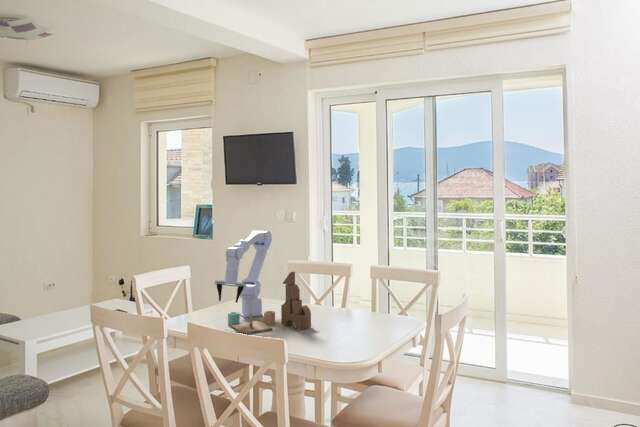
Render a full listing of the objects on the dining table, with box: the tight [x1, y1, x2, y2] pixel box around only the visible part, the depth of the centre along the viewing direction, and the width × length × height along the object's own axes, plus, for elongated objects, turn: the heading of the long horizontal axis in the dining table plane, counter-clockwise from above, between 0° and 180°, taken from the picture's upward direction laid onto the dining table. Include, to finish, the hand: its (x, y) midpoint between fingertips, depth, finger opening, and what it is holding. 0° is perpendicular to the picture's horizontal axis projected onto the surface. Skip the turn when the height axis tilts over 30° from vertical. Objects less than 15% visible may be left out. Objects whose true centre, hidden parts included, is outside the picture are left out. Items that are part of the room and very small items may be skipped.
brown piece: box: [229, 314, 273, 335], centre depth 221 cm, size 14×16×7 cm
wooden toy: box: [280, 271, 312, 331], centre depth 224 cm, size 16×7×25 cm, turn 42°
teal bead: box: [227, 311, 241, 326], centre depth 230 cm, size 5×5×5 cm
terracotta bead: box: [263, 310, 276, 325], centre depth 231 cm, size 5×5×5 cm
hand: (228, 301), depth 229 cm, fingers open, 7 cm apart
